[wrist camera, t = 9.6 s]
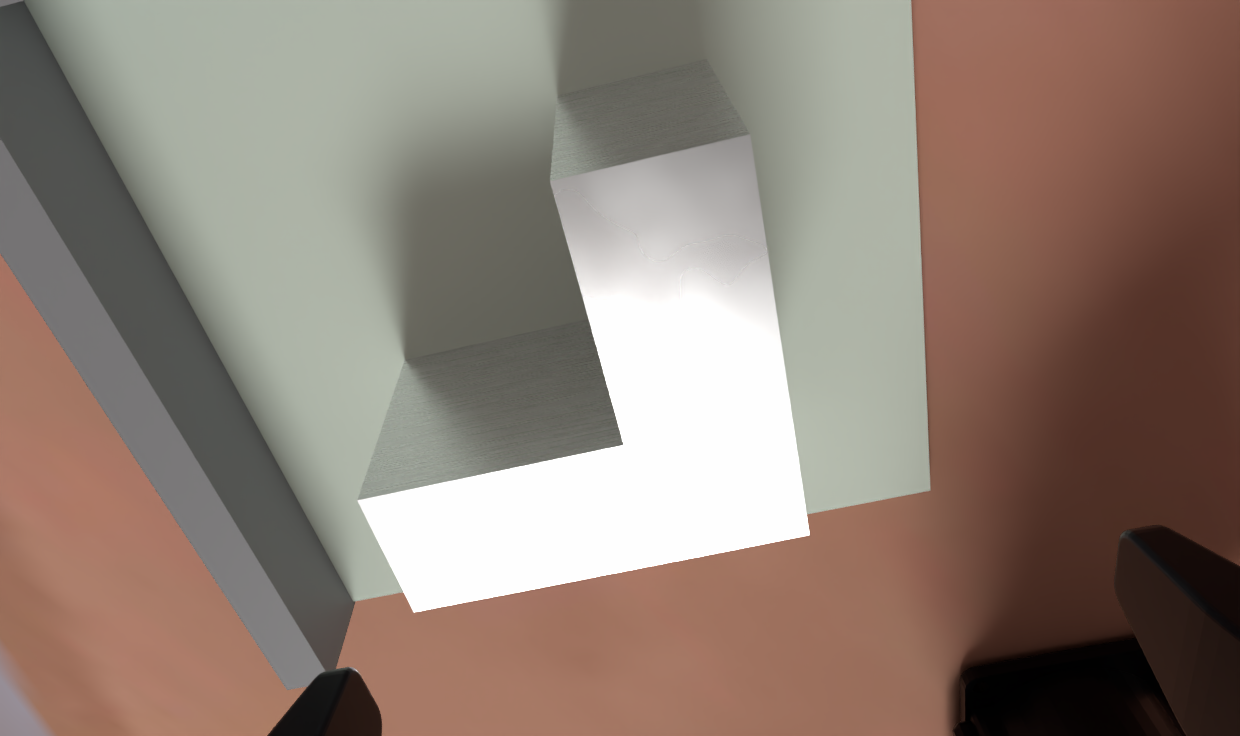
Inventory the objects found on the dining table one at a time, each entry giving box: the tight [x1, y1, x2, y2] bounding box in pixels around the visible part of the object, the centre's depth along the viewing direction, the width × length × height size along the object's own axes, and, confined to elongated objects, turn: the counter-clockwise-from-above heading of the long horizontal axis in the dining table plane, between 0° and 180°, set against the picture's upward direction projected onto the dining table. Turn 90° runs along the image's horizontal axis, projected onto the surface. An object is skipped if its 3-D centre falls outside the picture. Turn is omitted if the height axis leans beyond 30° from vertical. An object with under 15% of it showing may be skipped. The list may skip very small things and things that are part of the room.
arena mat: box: [24, 0, 930, 602], centre depth 19 cm, size 16×16×1 cm
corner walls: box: [0, 0, 355, 690], centre depth 18 cm, size 18×17×3 cm
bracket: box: [357, 59, 810, 612], centre depth 17 cm, size 8×8×5 cm
